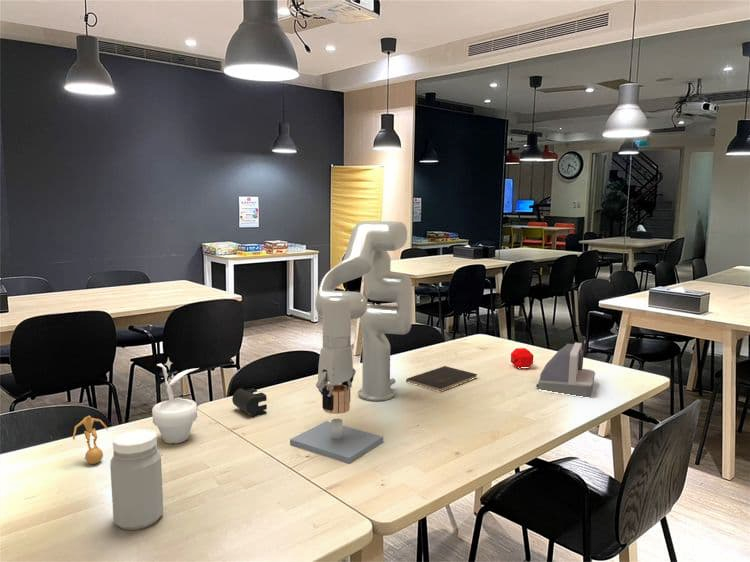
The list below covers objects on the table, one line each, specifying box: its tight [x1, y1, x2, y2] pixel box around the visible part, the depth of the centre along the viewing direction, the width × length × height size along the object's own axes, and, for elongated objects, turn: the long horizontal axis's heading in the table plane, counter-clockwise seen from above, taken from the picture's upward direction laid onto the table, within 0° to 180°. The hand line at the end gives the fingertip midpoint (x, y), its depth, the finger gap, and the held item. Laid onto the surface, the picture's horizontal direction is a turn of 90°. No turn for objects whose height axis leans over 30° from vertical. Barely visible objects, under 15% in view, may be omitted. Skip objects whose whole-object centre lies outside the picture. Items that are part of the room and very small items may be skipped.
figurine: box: [72, 415, 109, 465], centre depth 141 cm, size 8×6×12 cm
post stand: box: [289, 418, 384, 464], centre depth 153 cm, size 16×20×6 cm
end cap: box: [231, 387, 268, 418], centre depth 176 cm, size 10×7×7 cm
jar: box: [109, 428, 164, 531], centre depth 115 cm, size 10×10×18 cm
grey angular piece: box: [535, 342, 596, 398], centre depth 203 cm, size 21×21×15 cm
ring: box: [322, 383, 351, 415], centre depth 152 cm, size 7×7×6 cm
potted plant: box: [151, 357, 200, 445], centre depth 154 cm, size 13×12×25 cm
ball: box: [510, 347, 534, 368], centre depth 227 cm, size 8×8×8 cm
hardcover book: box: [405, 365, 478, 392], centre depth 210 cm, size 16×23×2 cm
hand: (336, 405), depth 152 cm, fingers closed on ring, 7 cm apart
